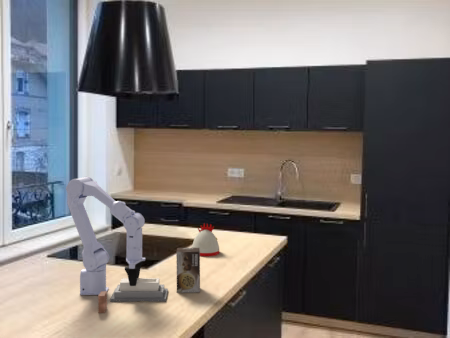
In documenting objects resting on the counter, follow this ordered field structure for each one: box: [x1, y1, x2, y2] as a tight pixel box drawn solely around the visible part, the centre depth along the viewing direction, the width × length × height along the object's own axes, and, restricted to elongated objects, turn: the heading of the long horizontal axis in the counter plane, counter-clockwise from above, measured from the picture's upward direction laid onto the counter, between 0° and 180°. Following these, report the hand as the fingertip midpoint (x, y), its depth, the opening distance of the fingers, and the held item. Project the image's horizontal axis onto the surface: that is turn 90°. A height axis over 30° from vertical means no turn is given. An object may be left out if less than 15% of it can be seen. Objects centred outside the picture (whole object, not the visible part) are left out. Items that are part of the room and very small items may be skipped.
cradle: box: [109, 284, 169, 303], centre depth 199 cm, size 20×12×3 cm, turn 93°
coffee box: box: [175, 247, 201, 294], centre depth 206 cm, size 9×6×16 cm
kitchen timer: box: [191, 223, 220, 257], centre depth 265 cm, size 14×14×15 cm
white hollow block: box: [119, 277, 160, 291], centre depth 199 cm, size 6×14×5 cm, turn 92°
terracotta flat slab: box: [97, 291, 108, 314], centre depth 183 cm, size 2×5×6 cm, turn 3°
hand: (134, 282), depth 199 cm, fingers open, 7 cm apart
